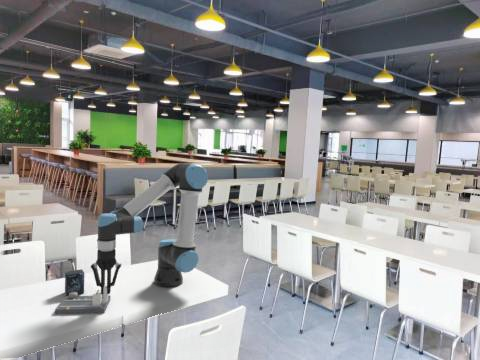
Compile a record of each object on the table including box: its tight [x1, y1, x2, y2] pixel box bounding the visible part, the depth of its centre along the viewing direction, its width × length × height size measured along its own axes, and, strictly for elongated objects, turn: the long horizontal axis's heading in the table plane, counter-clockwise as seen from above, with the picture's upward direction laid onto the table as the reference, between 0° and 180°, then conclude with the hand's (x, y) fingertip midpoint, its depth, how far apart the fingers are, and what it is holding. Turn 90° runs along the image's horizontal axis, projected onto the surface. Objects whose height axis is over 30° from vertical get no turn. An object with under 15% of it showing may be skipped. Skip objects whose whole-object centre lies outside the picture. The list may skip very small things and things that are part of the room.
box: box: [64, 269, 85, 296], centre depth 181 cm, size 8×6×11 cm
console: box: [54, 292, 112, 315], centre depth 167 cm, size 20×14×4 cm
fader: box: [92, 289, 102, 306], centre depth 165 cm, size 3×5×5 cm, turn 9°
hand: (105, 300), depth 166 cm, fingers closed
